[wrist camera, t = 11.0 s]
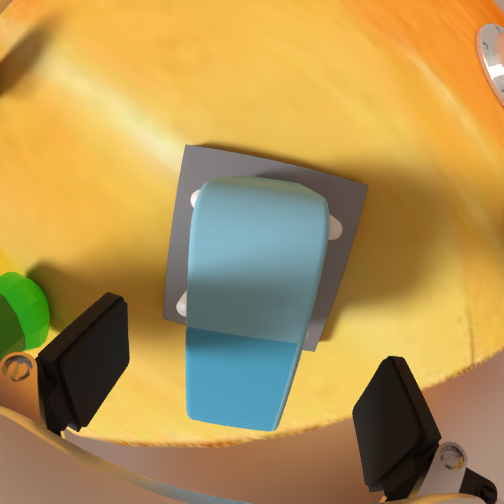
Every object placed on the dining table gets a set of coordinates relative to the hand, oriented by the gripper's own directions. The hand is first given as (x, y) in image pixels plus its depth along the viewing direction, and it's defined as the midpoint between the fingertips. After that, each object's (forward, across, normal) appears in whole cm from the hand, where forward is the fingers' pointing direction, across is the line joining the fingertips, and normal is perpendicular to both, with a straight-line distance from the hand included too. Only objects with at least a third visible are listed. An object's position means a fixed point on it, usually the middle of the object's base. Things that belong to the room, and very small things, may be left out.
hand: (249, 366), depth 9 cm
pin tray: (+14, +1, +1) cm, 15 cm away
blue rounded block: (+13, +1, +1) cm, 13 cm away
